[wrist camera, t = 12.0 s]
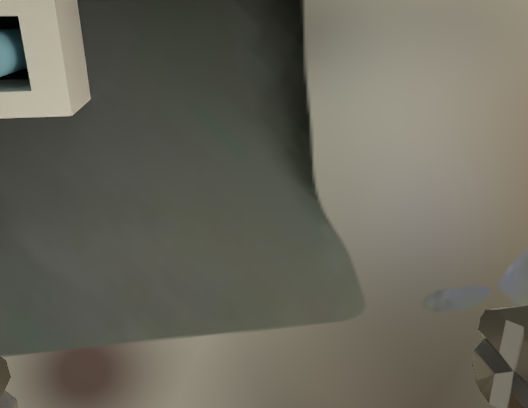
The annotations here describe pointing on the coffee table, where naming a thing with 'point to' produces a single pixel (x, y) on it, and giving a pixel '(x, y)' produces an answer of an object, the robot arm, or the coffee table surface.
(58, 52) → the white cinder block
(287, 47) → the coffee table surface
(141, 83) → the coffee table surface
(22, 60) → the pin
